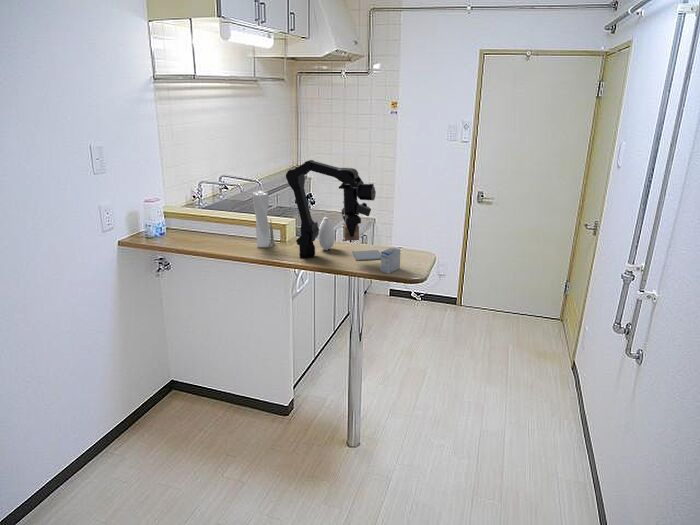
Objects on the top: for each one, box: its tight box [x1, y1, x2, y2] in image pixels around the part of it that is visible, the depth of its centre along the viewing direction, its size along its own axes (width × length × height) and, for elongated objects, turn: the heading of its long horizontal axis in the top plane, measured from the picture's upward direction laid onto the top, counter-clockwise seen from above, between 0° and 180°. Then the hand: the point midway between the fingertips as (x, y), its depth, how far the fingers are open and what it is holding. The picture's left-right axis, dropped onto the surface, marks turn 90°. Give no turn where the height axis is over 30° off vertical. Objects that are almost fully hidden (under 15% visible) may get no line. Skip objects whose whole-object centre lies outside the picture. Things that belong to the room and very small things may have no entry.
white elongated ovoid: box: [317, 212, 336, 251], centre depth 233 cm, size 8×8×18 cm
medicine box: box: [380, 246, 401, 274], centre depth 207 cm, size 8×4×9 cm, turn 141°
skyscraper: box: [252, 189, 275, 249], centre depth 237 cm, size 8×8×28 cm
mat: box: [351, 249, 381, 262], centre depth 226 cm, size 12×12×1 cm
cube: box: [342, 223, 360, 242], centre depth 215 cm, size 6×6×6 cm
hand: (351, 235), depth 216 cm, fingers closed on cube, 6 cm apart
